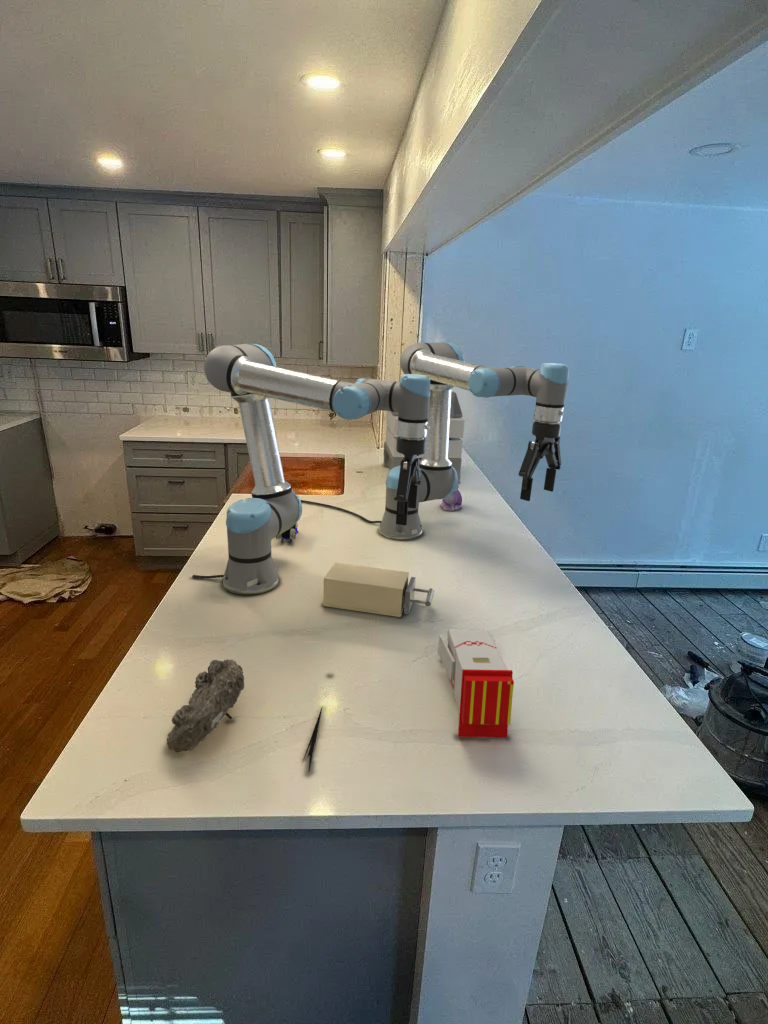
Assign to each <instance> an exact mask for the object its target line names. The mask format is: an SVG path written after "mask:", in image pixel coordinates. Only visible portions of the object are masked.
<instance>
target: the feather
mask: <svg viewBox="0 0 768 1024" xmlns="http://www.w3.org/2000/svg"><path fill="white" fill-rule="evenodd" d="M329 675H330V676H331V675H332V674H331V673H330V674H329ZM322 710H323V707H321V708H320V710H319V713H318V716H317V719H316V723H315V725H314V728H313V731H312V733H311V737H310V739H309V742H308V745H307V748H306V751H305V754H304V757H303V760H302V763H301V767H302V765H303V763H304V761H305V758H308V759H309V760H308V762H307V763H308V764H307V766H308V771H310V770H311V766H312V765H311V764H312V760H313V757H315V756H314V755H315V751H316V749H315V746H317V739H318V733H319V729H320V722H321V717H322V712H323V711H322ZM313 754H314V755H313ZM306 755H307V757H306Z"/></svg>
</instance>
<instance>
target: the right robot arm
mask: <svg viewBox="0 0 768 1024" xmlns="http://www.w3.org/2000/svg"><path fill="white" fill-rule="evenodd" d="M399 366H400V369H401V372H402V373H403V375H404V374H418V375H425V376H427V377H429V379H430V401H429V412H428V422H427V426H429V427H430V429H428V430H427V436H426V437H425V439H426V451H425V453H424V457H423V458H422V459H421V460H420V461H419V478H420V479H419V481H421V484H420V485H418V488H417V502H416V509H415V508H408V514H407V525H406V526H405V525H398V524H396V514H397V501H395V500H394V497H396V494H397V487H398V481H399V474H400V466H397V467H394V468H392V469H391V470H390V469H389V470H388V472H387V475H386V479H385V504H384V505H385V507H384V508H385V509H384V513H383V515H382V519H381V520H369V519H367V518H366V517H364V516H362V515H360V514H359V513H356V512H353V511H351V510H349V509H345V508H342V507H339V506H335V505H331V504H327V503H321V502H316V501H310V500H305V499H300V500H301V503H306V504H311V505H317V506H322V507H327V508H331V509H335V510H338V511H342V512H345V513H348V514H351V515H352V516H355V517H358V518H360V519H362V520H363V521H364V522H367V523H368V524H369V523H370V524H379V527H378V533H379V534H380V535H381V536H382V537H385V538H387V539H389V540H395V541H410V540H415V539H418V538H420V537H421V536H422V535H423V525H422V524H421V518H420V515H419V507H420V506H419V505H420V503H424V502H430V501H437V500H442V499H443V498H446V497H449V496H451V495H452V494H453V493H454V491H455V490H456V487H457V484H458V485H459V483H458V476H457V474H456V470H455V469H454V468H453V467H452V463H451V461H450V460H449V459H448V444H449V425H450V406H451V391H453V388H459V389H461V390H465V391H469V392H470V393H472V396H475V397H478V398H494V397H507V396H529V397H533V398H535V405H534V412H533V420H534V421H532V426H531V427H532V429H531V434H532V435H533V436H535V439H534V441H532V440H529V441H528V444H527V449H526V452H525V455H524V457H523V460H522V463H521V466H520V468H519V471H518V476H519V477H521V478H522V481H521V489H520V495H519V500H523V501H526V502H530V501H531V497H532V489H533V482H534V481H533V480H534V478H533V475H534V473H535V471H536V469H537V467H538V465H539V464H540V461H541V459H543V458H544V457H545V460H546V464H547V466H548V467H547V468H546V469H545V470H546V471H545V476H544V477H545V478H544V484H543V490H544V491H547V492H550V493H551V492H554V487H555V482H556V477H557V476H556V474H557V471H560V470H561V466H562V456H561V455H562V454H561V446H560V443H561V442H560V441H561V437H560V435H561V429H562V423H561V422H562V421H563V416H564V415H565V412H564V408H565V399H566V395H567V390H568V384H569V374H570V368H569V366H568V365H567V364H564V363H556V362H542V364H541V365H540V368H539V369H538V368H532V367H527V366H524V365H519V366H518V365H513V366H509V367H490V366H486V365H482V364H477V363H473V362H468V361H465V356H464V353H463V352H462V350H461V348H460V347H459V346H458V345H457V344H455V343H451V342H445V341H444V342H414V343H411V344H409V345H407V347H405V348H404V350H403V351H402V352H401V354H400V358H399ZM416 485H417V484H416ZM401 496H402V495H401Z"/></svg>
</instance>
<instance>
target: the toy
mask: <svg viewBox="0 0 768 1024" xmlns="http://www.w3.org/2000/svg"><path fill="white" fill-rule="evenodd" d="M446 640H447V643H446V641H445V639H444V636H443V635H442V634H439V637H438V646H437V656H438V657H439V659H440V661H441V663H442V666H443V668H444V670H445V672H446V674H447V677H448V679H449V681H450V684H451V687H452V690H453V693H454V697H455V701H456V705H457V708H458V711H459V714H458V715H459V716H458V730H457V731H458V732H457V737H458V738H508V731H509V726H510V725H511V717H512V707H513V697H514V696H513V695H514V684H515V680H514V679H513V673H514V671H513V670H512V669H508V667H507V665H506V662H505V661H504V659H503V658H502V655H501V653H500V651H499V649H498V647H497V643H496V639H495V637H494V635H493V634H491V632H490V631H489V629H467V628H466V629H465V628H463V629H461V628H460V629H459V628H448V630H447V639H446Z"/></svg>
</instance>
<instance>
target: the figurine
mask: <svg viewBox="0 0 768 1024" xmlns="http://www.w3.org/2000/svg"><path fill="white" fill-rule="evenodd" d="M456 474H457V471H456ZM459 488H460V486H459V483H458V484H457V487H456V490H455V491H454V493H453V494H452V495H451V496H449V497H446V498H443V499H441V500H442V501H441V508H442V509H443V510H444V511H451V512H452V511H457V510H460V509H461V507H462V504H463V496H462V493H461V491H460V490H459Z"/></svg>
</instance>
